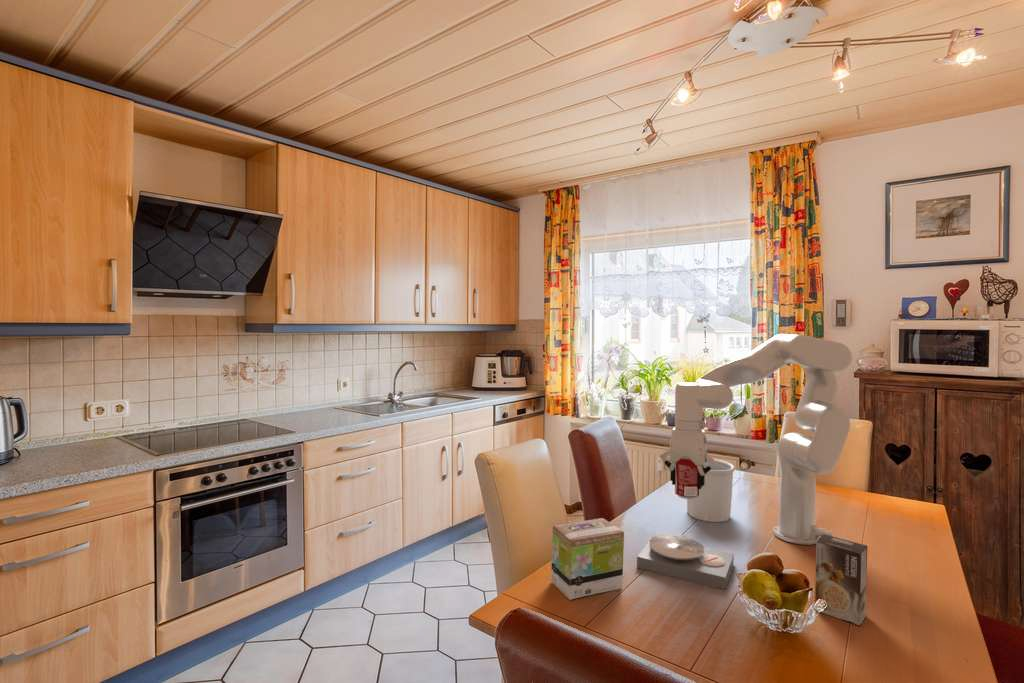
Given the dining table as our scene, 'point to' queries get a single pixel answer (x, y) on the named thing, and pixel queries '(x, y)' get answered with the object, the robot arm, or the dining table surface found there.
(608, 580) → the tea box
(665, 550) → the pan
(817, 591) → the coffee box
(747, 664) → the dining table surface
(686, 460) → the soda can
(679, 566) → the scale
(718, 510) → the utensil holder
